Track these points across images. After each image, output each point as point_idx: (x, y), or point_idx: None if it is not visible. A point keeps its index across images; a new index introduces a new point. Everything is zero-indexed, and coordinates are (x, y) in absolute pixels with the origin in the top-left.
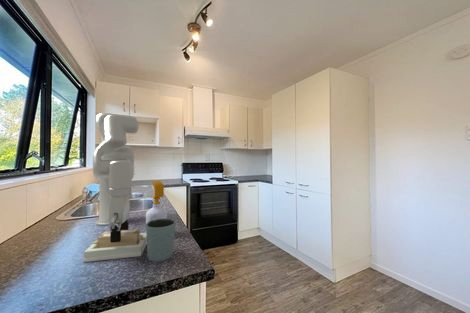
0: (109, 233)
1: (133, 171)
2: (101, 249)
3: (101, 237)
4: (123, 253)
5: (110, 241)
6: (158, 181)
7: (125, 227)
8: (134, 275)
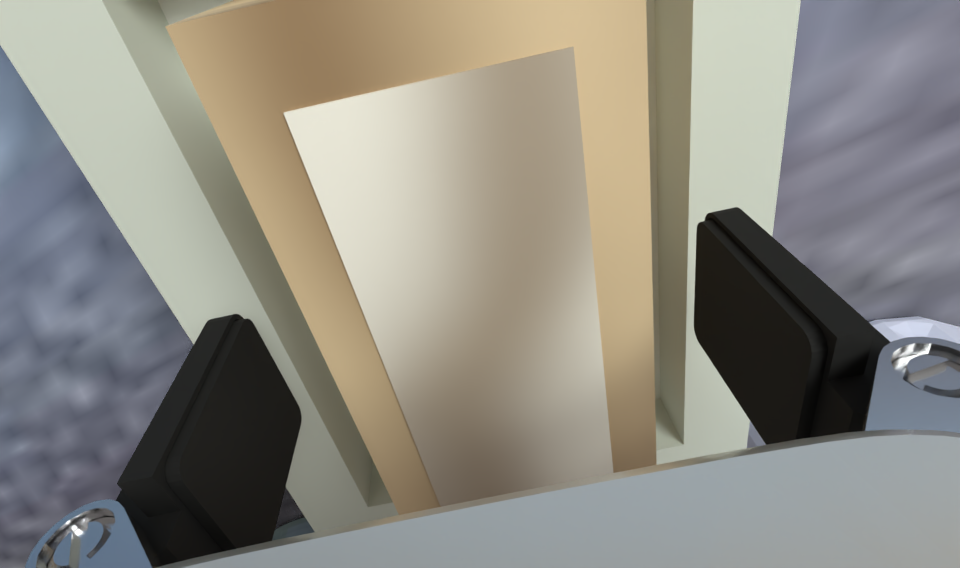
0: (476, 171)
1: None
2: (122, 185)
3: (216, 122)
4: None
5: (204, 326)
6: None
7: (740, 366)
8: (31, 541)
